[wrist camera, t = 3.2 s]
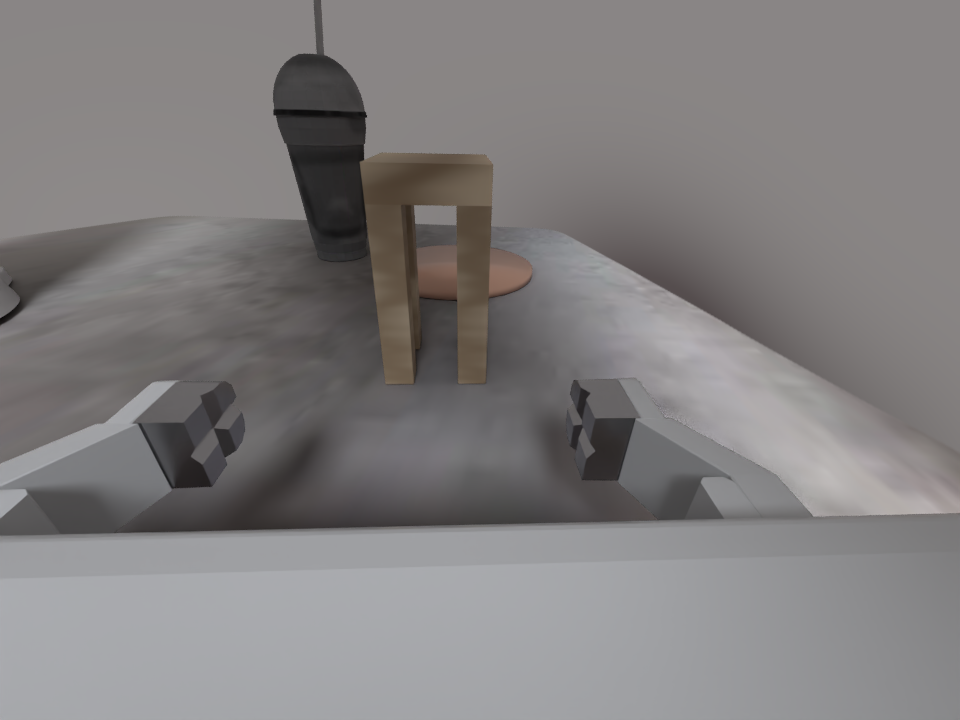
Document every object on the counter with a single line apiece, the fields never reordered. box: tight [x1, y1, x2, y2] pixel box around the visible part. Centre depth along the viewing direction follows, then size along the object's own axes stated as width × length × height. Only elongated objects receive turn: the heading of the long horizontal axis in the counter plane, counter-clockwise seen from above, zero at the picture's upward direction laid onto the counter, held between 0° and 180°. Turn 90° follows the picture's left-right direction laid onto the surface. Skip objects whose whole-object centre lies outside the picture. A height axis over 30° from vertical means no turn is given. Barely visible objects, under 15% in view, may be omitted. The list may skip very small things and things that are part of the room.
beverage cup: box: [273, 0, 367, 261], centre depth 34 cm, size 7×7×20 cm
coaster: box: [416, 245, 532, 300], centre depth 35 cm, size 13×13×1 cm
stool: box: [360, 153, 493, 384], centre depth 20 cm, size 5×5×10 cm
